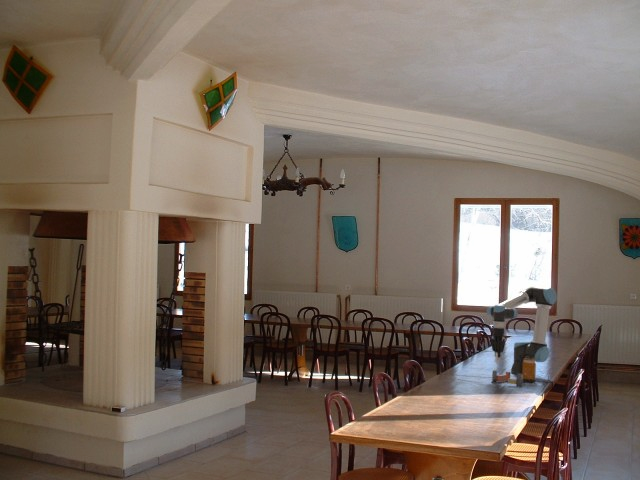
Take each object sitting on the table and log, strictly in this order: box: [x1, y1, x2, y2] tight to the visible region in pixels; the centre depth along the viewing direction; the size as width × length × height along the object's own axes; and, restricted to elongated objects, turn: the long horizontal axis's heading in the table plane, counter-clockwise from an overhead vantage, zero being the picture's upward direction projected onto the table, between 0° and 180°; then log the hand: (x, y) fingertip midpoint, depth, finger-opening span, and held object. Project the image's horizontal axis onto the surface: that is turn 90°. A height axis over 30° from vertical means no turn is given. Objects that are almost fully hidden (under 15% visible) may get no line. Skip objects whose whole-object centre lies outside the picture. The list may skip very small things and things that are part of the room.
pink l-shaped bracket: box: [497, 371, 512, 383], centre depth 476 cm, size 2×13×6 cm, turn 127°
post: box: [490, 370, 498, 384], centre depth 470 cm, size 4×4×8 cm
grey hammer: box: [507, 374, 524, 388], centre depth 461 cm, size 4×8×8 cm, turn 52°
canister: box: [519, 352, 537, 384], centre depth 479 cm, size 9×11×20 cm
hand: (497, 361), depth 482 cm, fingers closed
